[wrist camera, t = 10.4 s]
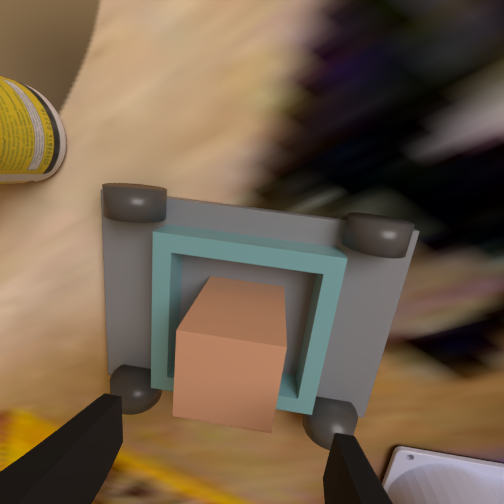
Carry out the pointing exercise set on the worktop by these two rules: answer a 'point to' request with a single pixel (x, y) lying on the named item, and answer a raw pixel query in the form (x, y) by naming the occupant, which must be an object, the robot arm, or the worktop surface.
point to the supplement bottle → (28, 134)
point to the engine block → (231, 355)
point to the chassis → (260, 271)
